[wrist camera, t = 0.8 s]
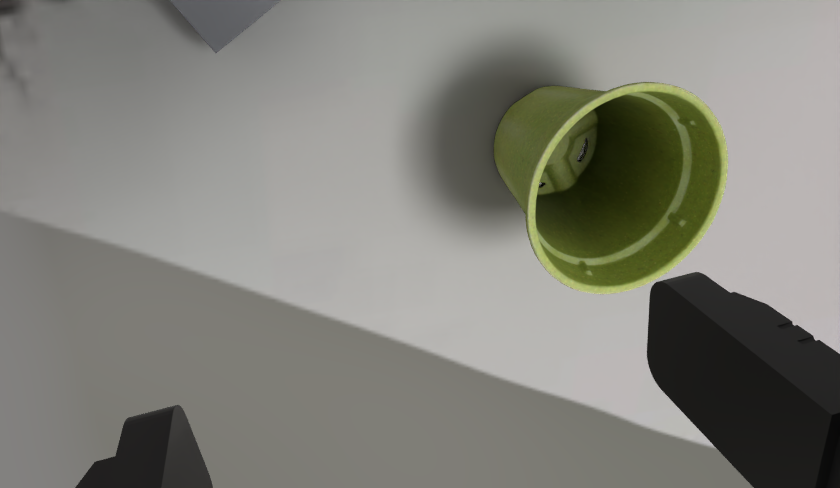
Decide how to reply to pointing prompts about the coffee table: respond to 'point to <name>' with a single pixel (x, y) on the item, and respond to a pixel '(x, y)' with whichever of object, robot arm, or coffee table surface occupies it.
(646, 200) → the plant pot
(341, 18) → the coffee table surface
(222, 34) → the console
